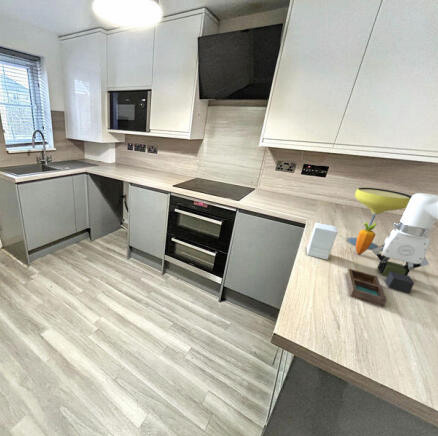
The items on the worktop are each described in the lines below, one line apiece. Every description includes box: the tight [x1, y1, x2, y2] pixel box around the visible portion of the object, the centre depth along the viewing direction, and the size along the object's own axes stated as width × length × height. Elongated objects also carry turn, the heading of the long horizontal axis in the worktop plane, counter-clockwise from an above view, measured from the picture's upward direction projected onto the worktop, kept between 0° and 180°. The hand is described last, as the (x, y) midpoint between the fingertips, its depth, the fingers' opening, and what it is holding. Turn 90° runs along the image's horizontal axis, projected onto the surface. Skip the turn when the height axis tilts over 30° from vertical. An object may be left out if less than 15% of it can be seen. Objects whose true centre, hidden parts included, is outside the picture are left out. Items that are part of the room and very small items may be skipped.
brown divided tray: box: [346, 268, 387, 307], centre depth 78 cm, size 8×15×3 cm, turn 146°
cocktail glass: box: [347, 187, 413, 250], centre depth 106 cm, size 18×18×25 cm
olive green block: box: [381, 260, 406, 277], centre depth 87 cm, size 5×5×4 cm
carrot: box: [355, 222, 378, 255], centre depth 98 cm, size 5×5×15 cm
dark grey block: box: [384, 271, 415, 294], centre depth 80 cm, size 5×5×4 cm
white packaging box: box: [306, 222, 338, 260], centre depth 98 cm, size 7×7×13 cm
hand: (390, 273), depth 87 cm, fingers closed on olive green block, 5 cm apart
